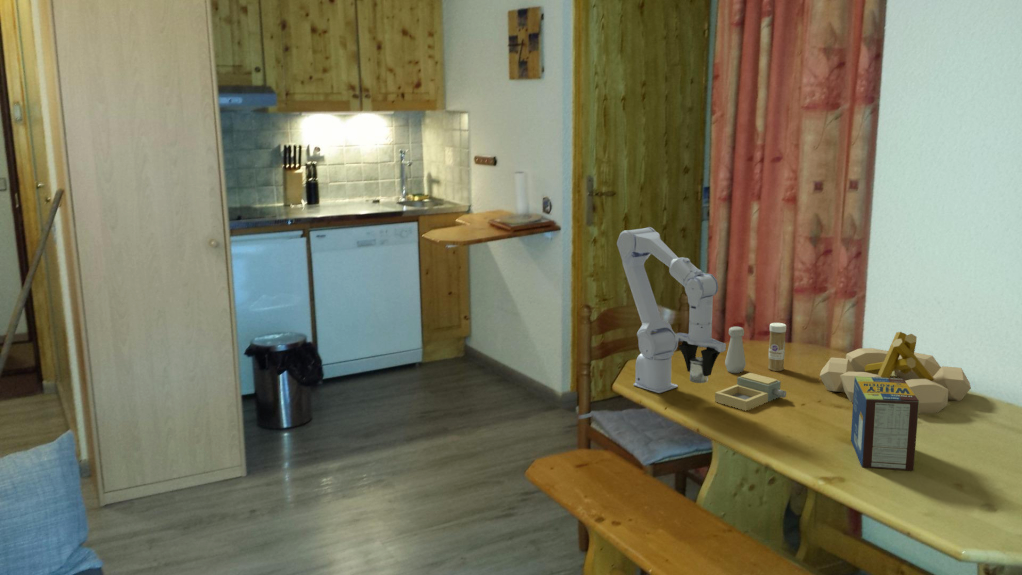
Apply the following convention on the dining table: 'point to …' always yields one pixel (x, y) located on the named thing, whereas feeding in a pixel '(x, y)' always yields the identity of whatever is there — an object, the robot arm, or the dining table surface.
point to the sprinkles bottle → (777, 346)
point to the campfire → (899, 373)
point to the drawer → (750, 392)
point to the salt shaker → (735, 351)
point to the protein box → (884, 423)
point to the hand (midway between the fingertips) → (699, 373)
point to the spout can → (697, 370)
